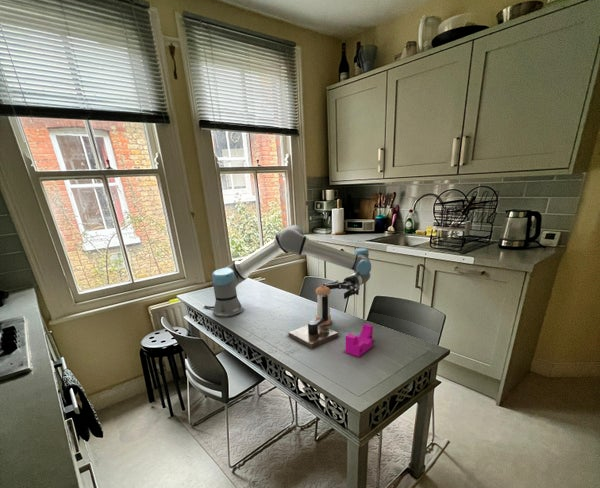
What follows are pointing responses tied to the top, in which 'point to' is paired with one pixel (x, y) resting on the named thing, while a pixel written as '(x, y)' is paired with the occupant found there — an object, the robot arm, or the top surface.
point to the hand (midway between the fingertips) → (332, 293)
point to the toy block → (360, 341)
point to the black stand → (314, 324)
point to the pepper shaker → (321, 291)
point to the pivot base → (313, 336)
